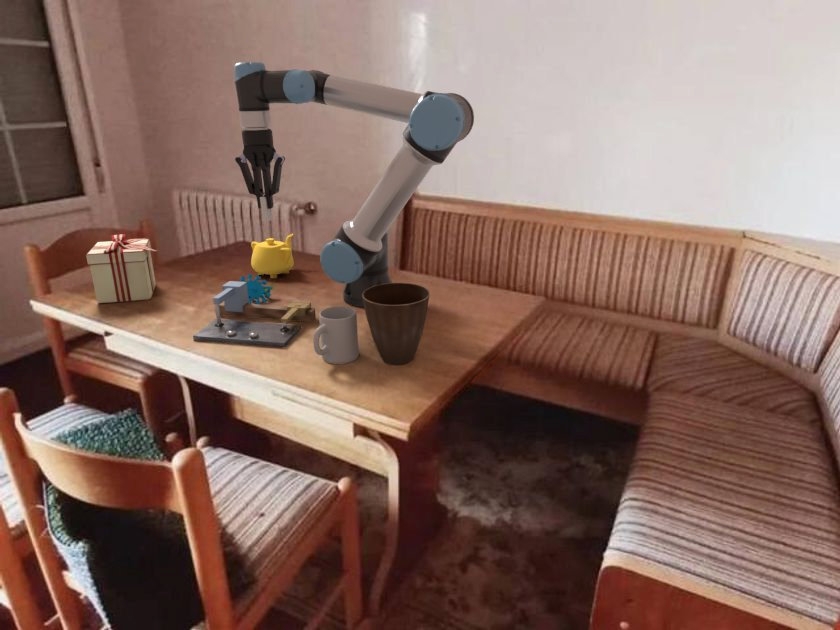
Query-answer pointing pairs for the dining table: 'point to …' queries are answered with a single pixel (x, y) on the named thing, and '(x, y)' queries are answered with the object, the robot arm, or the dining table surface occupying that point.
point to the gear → (257, 289)
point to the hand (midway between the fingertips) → (267, 220)
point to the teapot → (272, 257)
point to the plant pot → (396, 319)
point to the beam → (267, 312)
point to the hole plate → (248, 333)
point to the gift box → (122, 269)
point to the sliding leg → (231, 298)
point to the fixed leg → (295, 311)
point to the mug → (337, 335)
